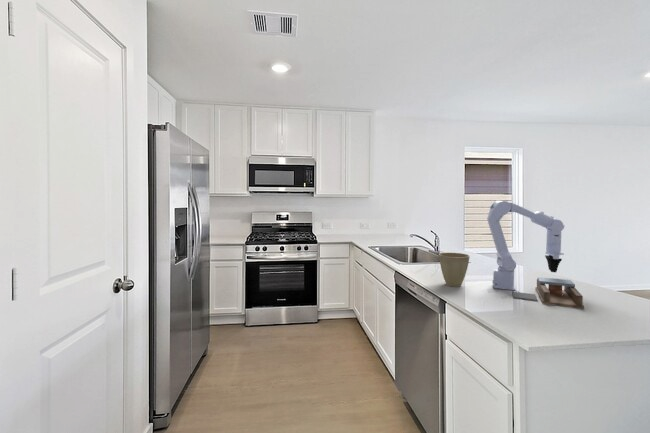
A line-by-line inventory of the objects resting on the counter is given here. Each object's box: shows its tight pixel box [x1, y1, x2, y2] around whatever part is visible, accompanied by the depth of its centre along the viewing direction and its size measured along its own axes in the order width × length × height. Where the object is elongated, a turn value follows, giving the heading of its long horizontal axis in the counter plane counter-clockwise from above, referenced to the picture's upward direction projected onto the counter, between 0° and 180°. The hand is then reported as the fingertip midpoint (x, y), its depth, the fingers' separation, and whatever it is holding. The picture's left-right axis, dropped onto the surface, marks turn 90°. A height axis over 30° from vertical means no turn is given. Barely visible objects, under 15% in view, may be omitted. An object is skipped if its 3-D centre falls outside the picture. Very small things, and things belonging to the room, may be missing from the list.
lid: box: [537, 276, 576, 288], centre depth 146 cm, size 13×8×1 cm, turn 62°
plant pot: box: [438, 252, 471, 287], centre depth 163 cm, size 15×15×16 cm
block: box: [547, 284, 563, 295], centre depth 146 cm, size 4×4×5 cm
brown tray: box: [535, 278, 585, 309], centre depth 141 cm, size 14×23×5 cm, turn 152°
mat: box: [511, 291, 538, 302], centre depth 143 cm, size 9×9×1 cm
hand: (552, 271), depth 153 cm, fingers open, 4 cm apart
